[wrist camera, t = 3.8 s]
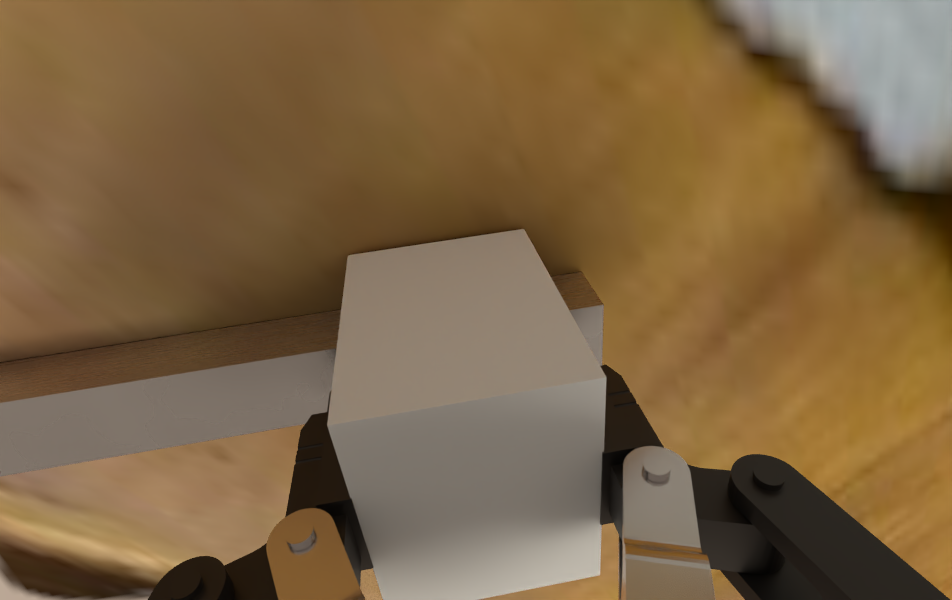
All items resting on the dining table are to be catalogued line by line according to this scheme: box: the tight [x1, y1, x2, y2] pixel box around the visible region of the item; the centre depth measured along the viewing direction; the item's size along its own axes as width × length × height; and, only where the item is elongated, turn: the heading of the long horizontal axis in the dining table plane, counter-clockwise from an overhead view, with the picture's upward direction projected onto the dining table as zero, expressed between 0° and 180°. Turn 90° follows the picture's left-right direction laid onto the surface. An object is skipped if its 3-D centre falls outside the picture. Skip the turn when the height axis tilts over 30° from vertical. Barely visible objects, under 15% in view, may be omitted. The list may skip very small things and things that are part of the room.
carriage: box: [327, 229, 606, 600], centre depth 14 cm, size 5×6×7 cm
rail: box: [0, 272, 604, 476], centre depth 16 cm, size 18×2×2 cm, turn 96°
